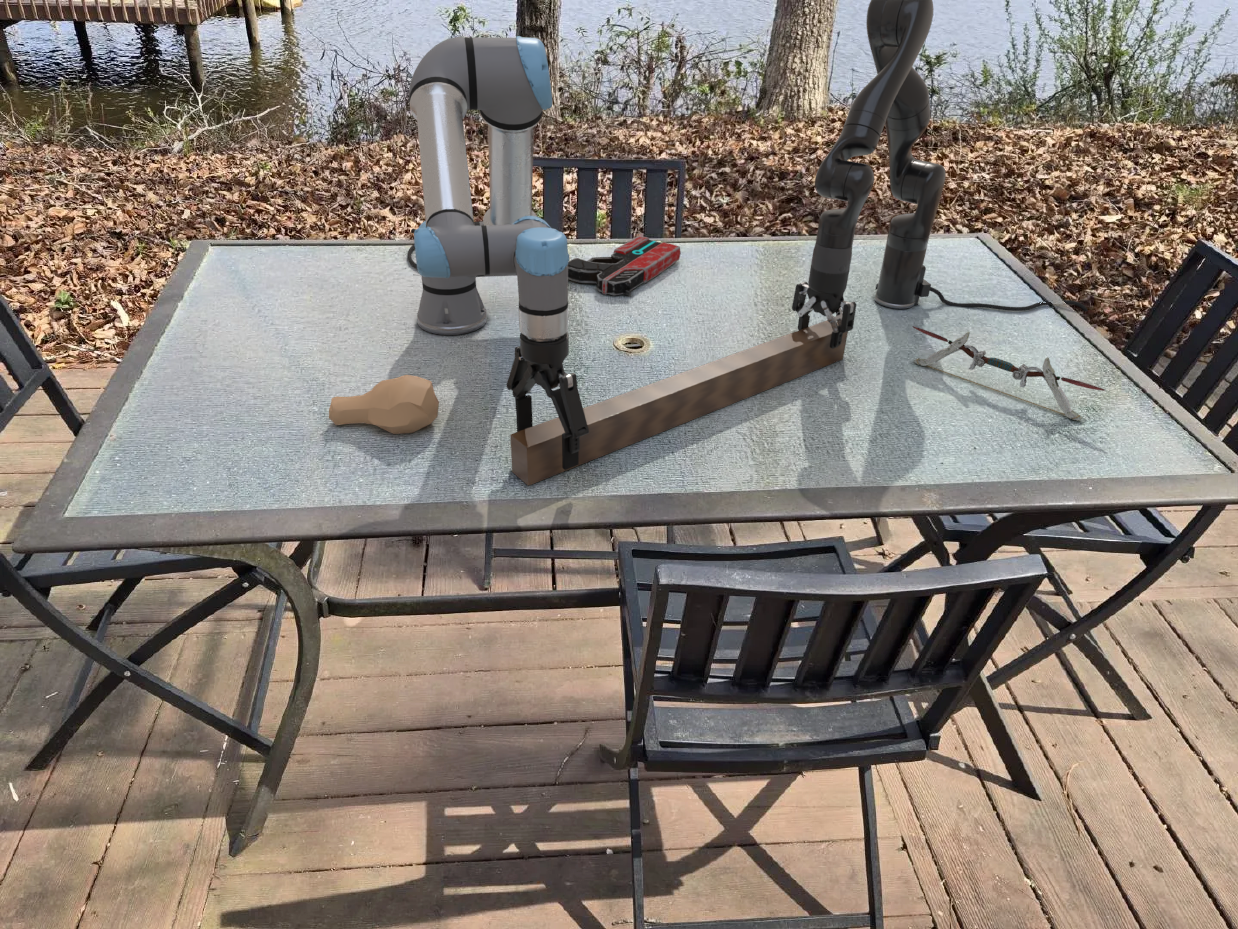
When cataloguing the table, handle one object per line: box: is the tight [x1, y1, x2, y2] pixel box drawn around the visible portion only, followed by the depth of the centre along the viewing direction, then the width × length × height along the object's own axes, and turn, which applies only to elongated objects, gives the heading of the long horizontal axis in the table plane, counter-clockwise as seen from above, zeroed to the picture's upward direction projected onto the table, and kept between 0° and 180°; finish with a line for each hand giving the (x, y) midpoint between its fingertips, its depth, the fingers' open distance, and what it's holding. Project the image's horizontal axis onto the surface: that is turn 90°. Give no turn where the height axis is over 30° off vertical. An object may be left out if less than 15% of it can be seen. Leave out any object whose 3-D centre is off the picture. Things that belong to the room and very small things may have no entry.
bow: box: [912, 325, 1106, 421], centre depth 173 cm, size 39×2×10 cm, turn 47°
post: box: [509, 319, 849, 486], centre depth 165 cm, size 80×5×8 cm, turn 128°
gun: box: [568, 235, 682, 297], centre depth 223 cm, size 4×31×19 cm
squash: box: [328, 374, 440, 435], centre depth 157 cm, size 11×20×9 cm, turn 90°
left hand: (547, 448), depth 147 cm, fingers open, 13 cm apart
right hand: (818, 339), depth 182 cm, fingers open, 8 cm apart
